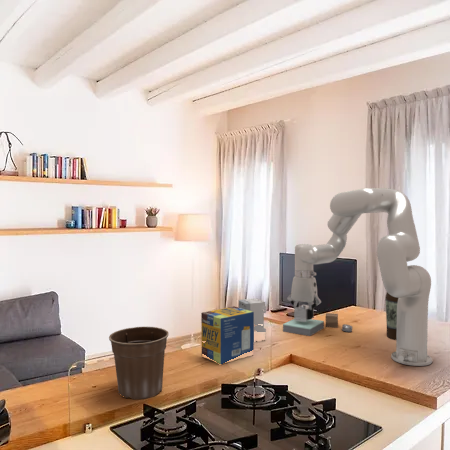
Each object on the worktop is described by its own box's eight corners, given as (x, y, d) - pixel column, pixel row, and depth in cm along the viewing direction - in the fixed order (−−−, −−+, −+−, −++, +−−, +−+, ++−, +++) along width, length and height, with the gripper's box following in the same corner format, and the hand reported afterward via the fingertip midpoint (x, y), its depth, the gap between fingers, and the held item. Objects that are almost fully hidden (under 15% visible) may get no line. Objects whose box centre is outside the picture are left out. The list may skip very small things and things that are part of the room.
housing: (313, 317, 191) (313, 304, 191) (305, 321, 184) (305, 307, 184) (302, 316, 194) (302, 302, 194) (294, 320, 187) (294, 306, 187)
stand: (310, 336, 180) (310, 328, 180) (282, 331, 187) (282, 324, 187) (323, 328, 192) (323, 321, 191) (297, 323, 198) (297, 317, 198)
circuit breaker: (224, 339, 176) (223, 301, 175) (257, 335, 181) (257, 298, 180) (231, 345, 169) (231, 305, 168) (265, 340, 174) (265, 302, 173)
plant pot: (124, 409, 116) (123, 346, 115) (101, 388, 129) (100, 332, 129) (179, 393, 126) (179, 335, 125) (152, 376, 139) (152, 323, 138)
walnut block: (337, 328, 192) (337, 316, 192) (325, 327, 193) (325, 315, 193) (337, 325, 197) (337, 313, 196) (325, 324, 198) (326, 313, 198)
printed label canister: (397, 331, 185) (397, 270, 184) (420, 338, 176) (421, 274, 175) (379, 335, 180) (380, 273, 179) (402, 342, 171) (403, 276, 170)
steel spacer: (351, 330, 189) (351, 325, 189) (352, 333, 185) (353, 328, 185) (341, 328, 189) (342, 323, 189) (342, 331, 185) (343, 326, 185)
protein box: (200, 357, 156) (200, 312, 155) (234, 348, 165) (234, 305, 165) (220, 365, 148) (220, 318, 147) (254, 355, 157) (254, 310, 157)
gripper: (327, 274, 186) (326, 318, 187) (289, 271, 196) (289, 313, 197) (319, 277, 180) (319, 322, 181) (281, 273, 190) (281, 316, 191)
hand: (303, 317), depth 189 cm, fingers closed on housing, 5 cm apart
